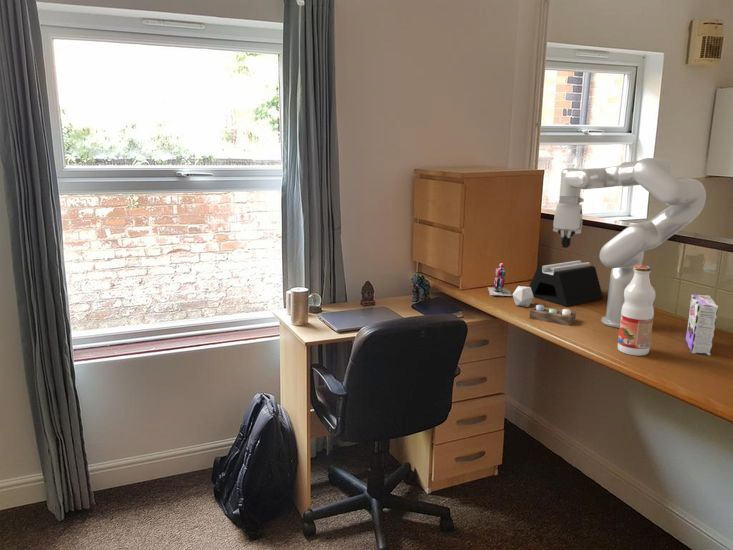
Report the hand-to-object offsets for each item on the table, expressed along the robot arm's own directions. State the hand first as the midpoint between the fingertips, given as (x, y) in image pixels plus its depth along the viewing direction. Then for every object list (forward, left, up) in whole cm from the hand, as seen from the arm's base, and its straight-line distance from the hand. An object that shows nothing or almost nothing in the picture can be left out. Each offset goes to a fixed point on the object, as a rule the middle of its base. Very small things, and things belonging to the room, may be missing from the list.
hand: (565, 247), depth 228 cm
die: (+14, +5, -25) cm, 29 cm away
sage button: (-2, +17, -26) cm, 31 cm away
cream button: (-7, +17, -25) cm, 31 cm away
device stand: (+4, -18, -26) cm, 31 cm away
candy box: (-51, +20, -25) cm, 60 cm away
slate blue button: (+3, +17, -25) cm, 30 cm away
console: (-2, +17, -25) cm, 30 cm away
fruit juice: (-34, +36, -25) cm, 56 cm away
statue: (+29, -7, -25) cm, 39 cm away
